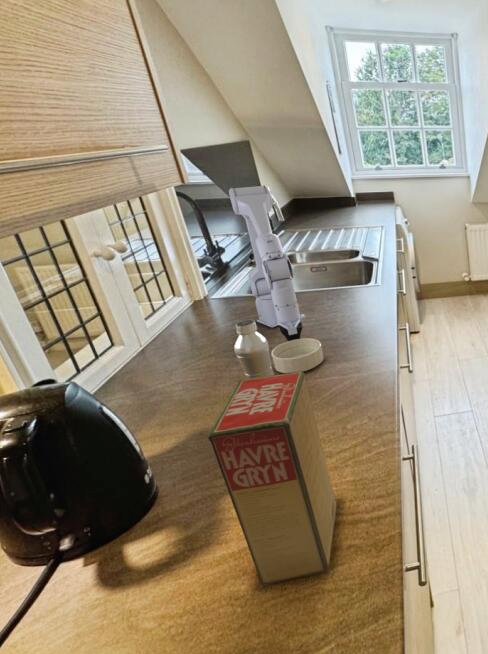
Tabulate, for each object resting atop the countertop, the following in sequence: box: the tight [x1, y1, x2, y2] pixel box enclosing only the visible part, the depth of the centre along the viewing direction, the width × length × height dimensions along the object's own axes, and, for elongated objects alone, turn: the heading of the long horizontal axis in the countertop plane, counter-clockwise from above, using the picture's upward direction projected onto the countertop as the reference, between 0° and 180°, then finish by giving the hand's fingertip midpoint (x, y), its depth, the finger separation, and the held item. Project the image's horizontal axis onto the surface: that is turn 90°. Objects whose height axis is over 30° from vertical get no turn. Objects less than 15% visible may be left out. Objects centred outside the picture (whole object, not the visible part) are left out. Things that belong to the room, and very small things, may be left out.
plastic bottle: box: [233, 319, 275, 379], centre depth 98 cm, size 6×7×20 cm
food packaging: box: [207, 371, 337, 586], centre depth 63 cm, size 13×9×25 cm
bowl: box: [270, 337, 325, 374], centre depth 119 cm, size 12×12×4 cm
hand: (295, 348), depth 125 cm, fingers closed
